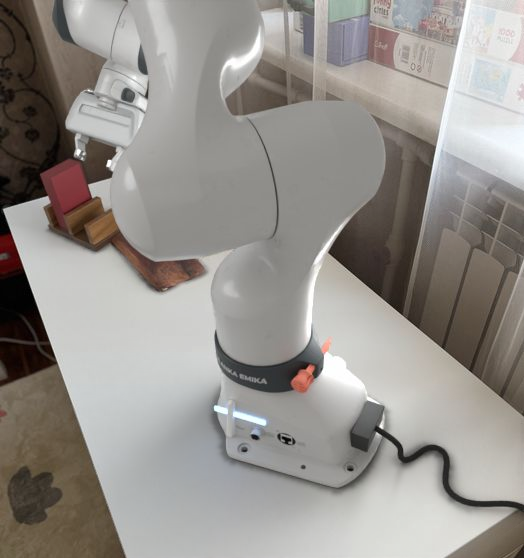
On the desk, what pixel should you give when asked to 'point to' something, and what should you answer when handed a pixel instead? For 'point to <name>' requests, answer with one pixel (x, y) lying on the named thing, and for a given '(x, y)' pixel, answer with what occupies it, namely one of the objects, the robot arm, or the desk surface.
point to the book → (66, 188)
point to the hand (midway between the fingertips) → (94, 165)
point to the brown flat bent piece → (159, 266)
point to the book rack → (86, 224)
